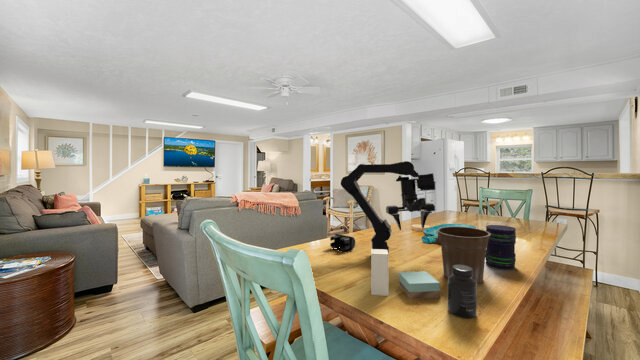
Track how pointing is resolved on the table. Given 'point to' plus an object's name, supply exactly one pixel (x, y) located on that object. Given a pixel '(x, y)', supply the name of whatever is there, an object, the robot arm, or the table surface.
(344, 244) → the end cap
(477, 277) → the plant pot
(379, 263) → the cream block
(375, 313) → the table surface
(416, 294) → the tower base
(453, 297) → the supplement bottle
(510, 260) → the storage jar
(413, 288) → the tower top
